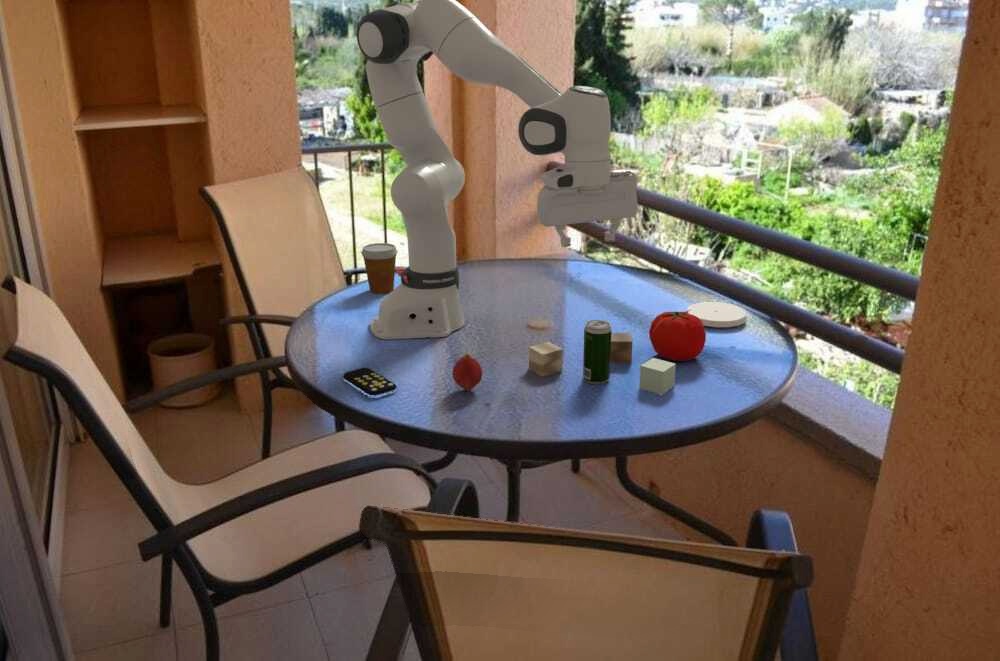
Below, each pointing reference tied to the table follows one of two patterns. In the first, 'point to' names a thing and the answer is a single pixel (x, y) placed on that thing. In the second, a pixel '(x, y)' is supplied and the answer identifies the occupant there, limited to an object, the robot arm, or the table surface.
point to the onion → (467, 372)
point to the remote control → (369, 381)
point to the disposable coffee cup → (380, 266)
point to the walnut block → (621, 348)
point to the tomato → (677, 335)
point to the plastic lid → (718, 314)
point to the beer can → (597, 352)
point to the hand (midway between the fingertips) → (587, 243)
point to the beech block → (545, 358)
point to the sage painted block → (657, 375)
